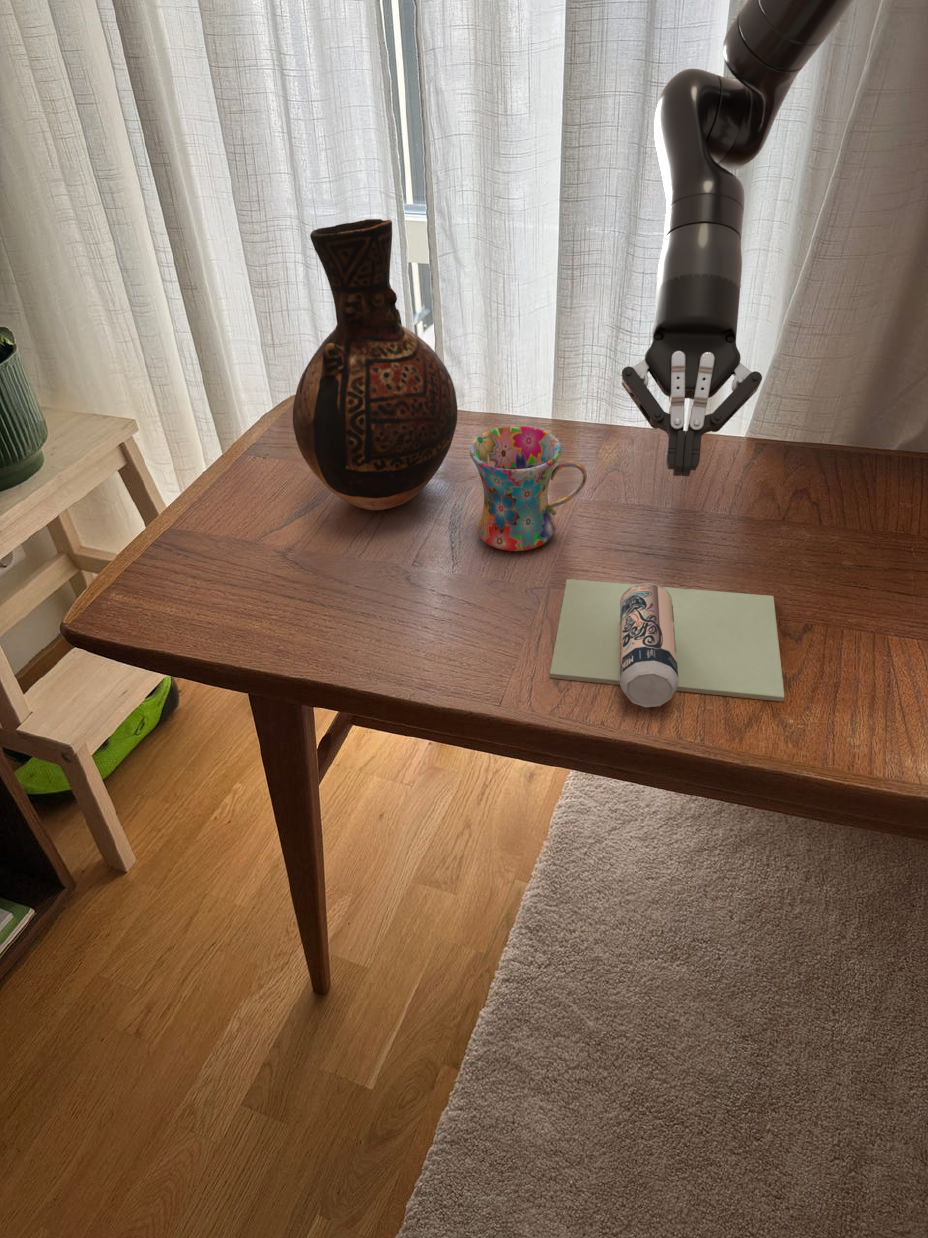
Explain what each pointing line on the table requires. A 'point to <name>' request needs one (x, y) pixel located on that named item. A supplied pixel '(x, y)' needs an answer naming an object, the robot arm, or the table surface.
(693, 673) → the mat
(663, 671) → the beer can
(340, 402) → the ceramic vessel
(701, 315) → the robot arm
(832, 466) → the table surface
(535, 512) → the mug
